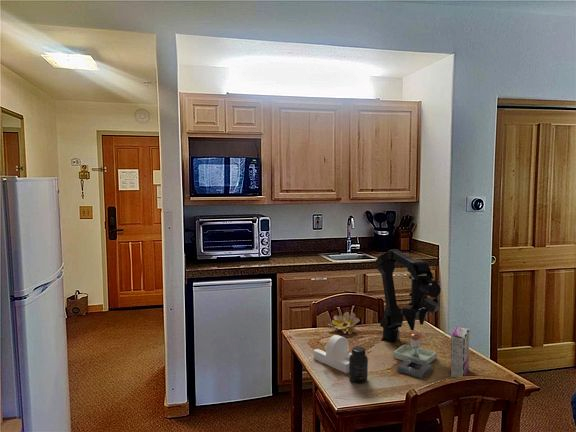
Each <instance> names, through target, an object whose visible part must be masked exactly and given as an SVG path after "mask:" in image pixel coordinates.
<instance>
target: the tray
mask: <svg viewBox="0 0 576 432" xmlns="http://www.w3.org/2000/svg"><path fill="white" fill-rule="evenodd" d="M392 358H393V359H396V360H400V361H403V362H404V361H405V360H406V359H408V358H409V359H413V360H416V361H420V362H423V363H427V364H430V365H431V363H432V362H433V361H434V360H436V359H437V352H436V351H432V350H430V349H429V350H428V349H425V348H421V347H419V358H416V357H412V356H410V345H409V344H406V343H405V344H403V345H401V346H399V347H398V348H397V349H395V350H394V351H393V352H392Z"/></svg>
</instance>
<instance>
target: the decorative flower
mask: <svg viewBox="0 0 576 432" xmlns="http://www.w3.org/2000/svg"><path fill="white" fill-rule="evenodd" d="M360 321H361V320H360V318H358V317H356V314H355V312H351V313H349V312H348V311H346V312H344V313H343V315H342V316H341V315H334V316H333V319H332V321H331V322H330V323H327V325H328V326H331V327H333V328H335V329H336V328H337V330H340V331H342V333H344V334H346V333H347V332H349V333H351V334H353V332H355V333H357V332H358V329H356V328H354V325H356V324H357V323H359V322H360Z"/></svg>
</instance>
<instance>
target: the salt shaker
mask: <svg viewBox="0 0 576 432" xmlns="http://www.w3.org/2000/svg"><path fill="white" fill-rule="evenodd" d="M408 333H409V334H408V336H409V338H410V342H409V343H410V356H412V357H416V358H419V348H420V343H421V342H420V339H421V338H422V334H421V333H419V332H415V331H414V332H412V331H411V332H408Z"/></svg>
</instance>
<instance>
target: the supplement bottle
mask: <svg viewBox="0 0 576 432" xmlns="http://www.w3.org/2000/svg"><path fill="white" fill-rule="evenodd" d="M351 348H352V349H351V353H352V354H351V355H350V357H349V372H348V379H349V381H350V382H351V383H354V384H356V385H357V384H359V385H360V384H361V385H363V384H365V383H366V382H367V381H368V377H369V376H368V375H369V374H368V372H369V368H368V366H369V365H368V364H369V363H368V362H369V360H368V358H369V357H367V355H366V348H365V347H363V346H358V345H356V346H353V347H351Z"/></svg>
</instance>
